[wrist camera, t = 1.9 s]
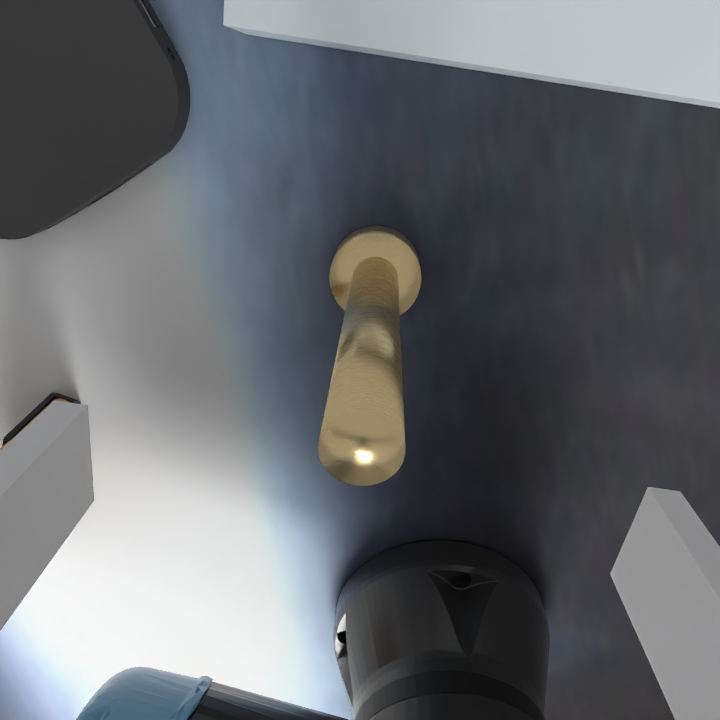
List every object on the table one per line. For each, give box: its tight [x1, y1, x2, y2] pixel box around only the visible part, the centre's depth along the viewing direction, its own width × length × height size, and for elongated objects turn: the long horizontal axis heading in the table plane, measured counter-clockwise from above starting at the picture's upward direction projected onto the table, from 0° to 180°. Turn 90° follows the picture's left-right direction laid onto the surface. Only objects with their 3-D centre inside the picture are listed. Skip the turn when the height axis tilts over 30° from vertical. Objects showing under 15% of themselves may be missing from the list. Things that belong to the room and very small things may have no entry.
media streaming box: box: [0, 0, 190, 239], centre depth 28 cm, size 15×15×3 cm
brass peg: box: [318, 225, 421, 486], centre depth 24 cm, size 5×5×18 cm
